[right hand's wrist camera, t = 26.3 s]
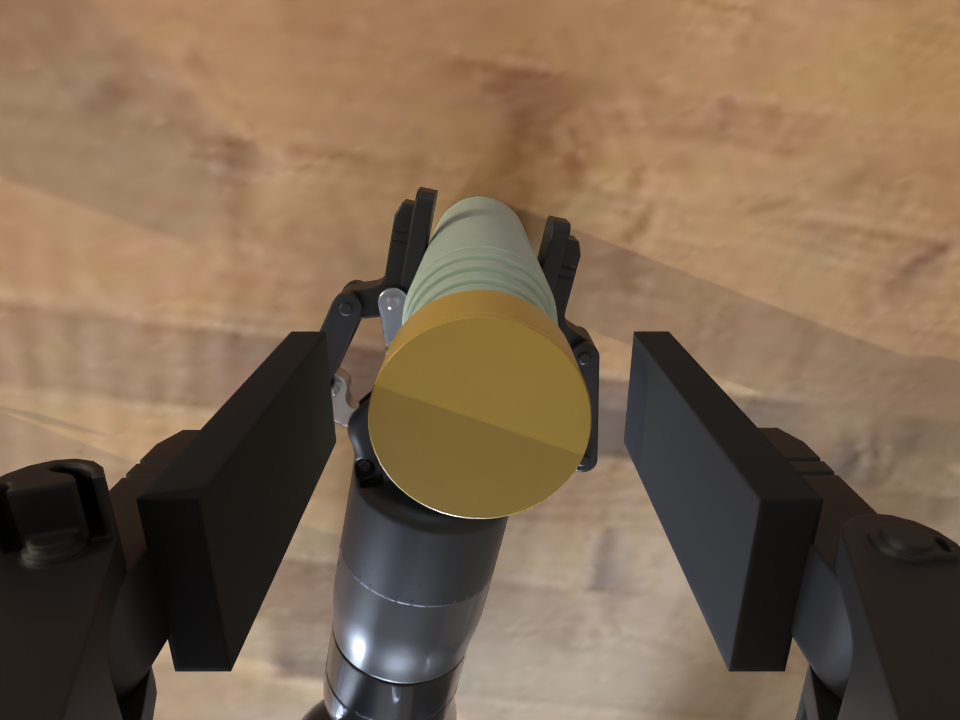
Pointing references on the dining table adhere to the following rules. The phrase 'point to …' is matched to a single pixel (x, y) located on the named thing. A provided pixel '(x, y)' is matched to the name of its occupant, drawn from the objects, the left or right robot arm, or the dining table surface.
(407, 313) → the bottle
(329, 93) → the dining table surface
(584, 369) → the left robot arm
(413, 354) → the cap
